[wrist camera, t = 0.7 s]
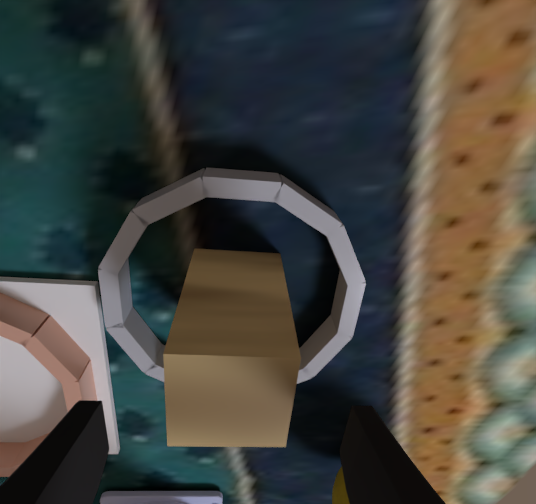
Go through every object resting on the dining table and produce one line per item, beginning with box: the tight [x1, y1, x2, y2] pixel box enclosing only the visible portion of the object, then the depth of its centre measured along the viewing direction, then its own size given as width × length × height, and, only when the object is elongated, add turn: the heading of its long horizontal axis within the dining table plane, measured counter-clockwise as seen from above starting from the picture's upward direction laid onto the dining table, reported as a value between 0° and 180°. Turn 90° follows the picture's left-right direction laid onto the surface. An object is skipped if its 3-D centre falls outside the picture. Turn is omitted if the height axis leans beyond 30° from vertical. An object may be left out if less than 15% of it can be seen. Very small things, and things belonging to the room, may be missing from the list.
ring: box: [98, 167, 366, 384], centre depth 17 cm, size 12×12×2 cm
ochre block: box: [163, 248, 301, 447], centre depth 14 cm, size 4×4×7 cm
